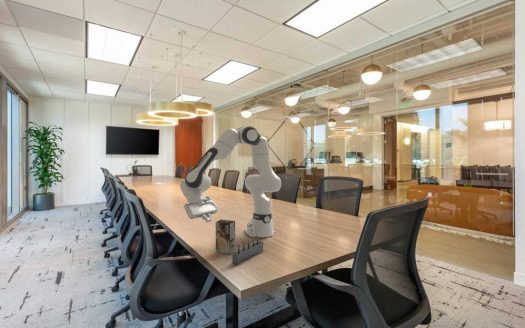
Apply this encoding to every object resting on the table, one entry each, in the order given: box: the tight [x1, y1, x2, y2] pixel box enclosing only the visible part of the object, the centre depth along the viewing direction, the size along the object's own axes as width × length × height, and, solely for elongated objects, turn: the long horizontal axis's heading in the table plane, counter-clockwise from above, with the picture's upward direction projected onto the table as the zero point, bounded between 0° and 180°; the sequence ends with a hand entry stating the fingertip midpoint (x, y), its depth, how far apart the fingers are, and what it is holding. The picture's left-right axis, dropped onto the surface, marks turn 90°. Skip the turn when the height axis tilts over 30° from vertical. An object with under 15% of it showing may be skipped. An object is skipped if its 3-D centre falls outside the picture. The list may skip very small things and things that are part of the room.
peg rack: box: [231, 235, 264, 266], centre depth 130 cm, size 3×22×9 cm, turn 146°
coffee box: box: [215, 219, 236, 255], centre depth 139 cm, size 9×6×16 cm
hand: (209, 221), depth 145 cm, fingers closed
